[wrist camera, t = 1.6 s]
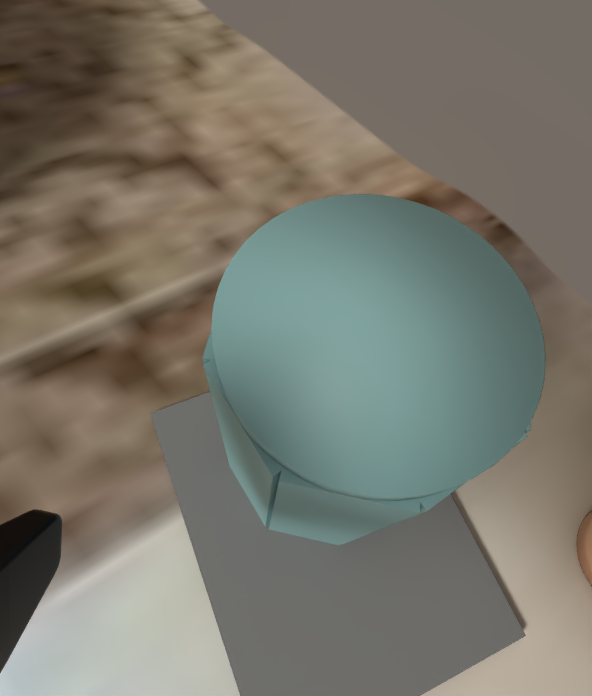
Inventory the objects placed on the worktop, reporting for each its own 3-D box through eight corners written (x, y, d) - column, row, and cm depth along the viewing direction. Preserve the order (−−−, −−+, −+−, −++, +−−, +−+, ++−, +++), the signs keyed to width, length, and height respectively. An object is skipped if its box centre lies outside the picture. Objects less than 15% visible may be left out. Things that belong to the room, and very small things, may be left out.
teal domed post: (392, 557, 19) (547, 535, 9) (214, 516, 19) (165, 448, 9) (412, 389, 22) (543, 228, 12) (257, 355, 22) (257, 168, 12)
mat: (520, 634, 18) (526, 635, 18) (267, 777, 16) (267, 781, 16) (364, 338, 23) (365, 334, 23) (151, 416, 21) (150, 413, 20)
